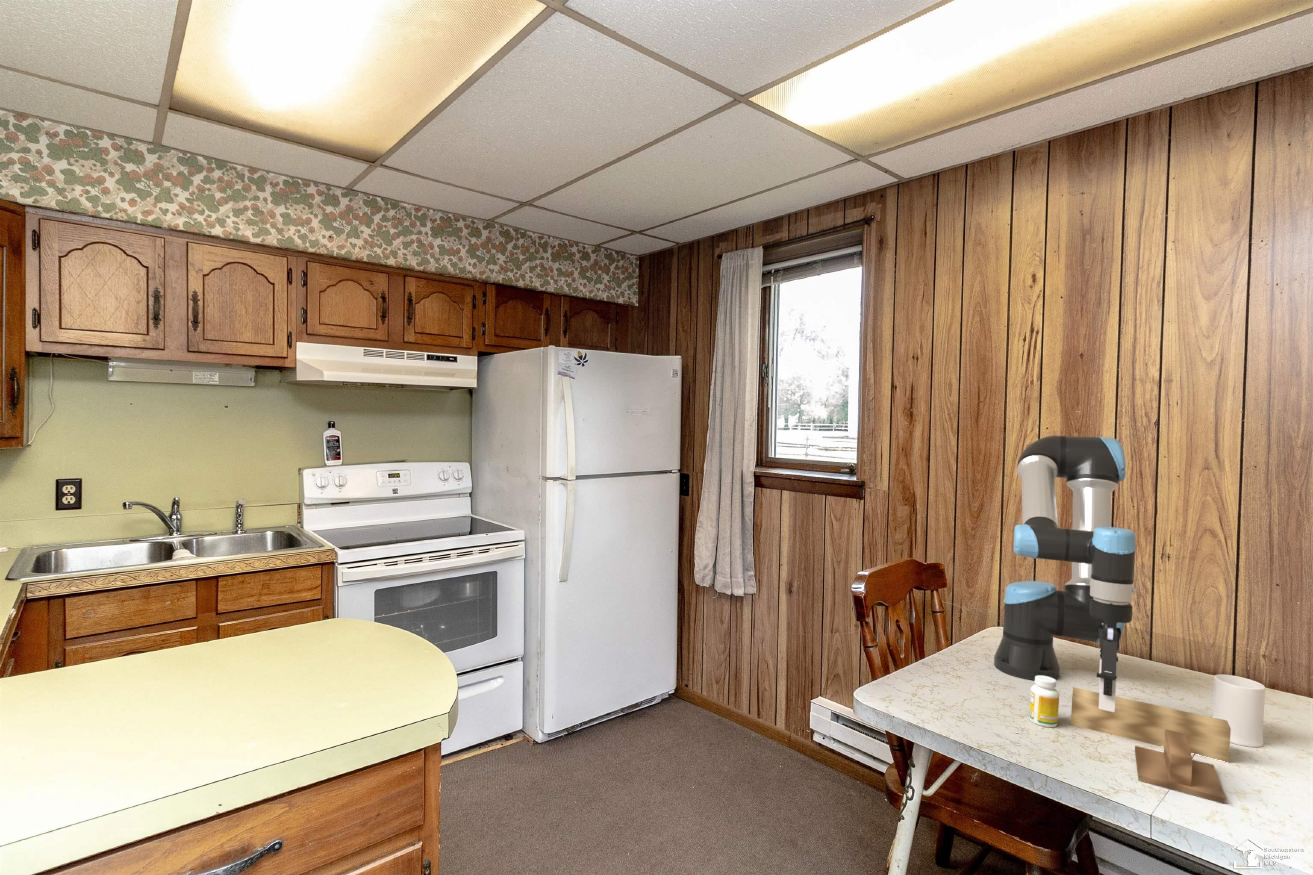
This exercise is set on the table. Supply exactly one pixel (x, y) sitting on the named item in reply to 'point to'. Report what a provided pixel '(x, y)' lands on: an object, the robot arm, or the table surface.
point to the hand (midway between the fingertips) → (1106, 699)
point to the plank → (1151, 723)
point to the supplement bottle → (1044, 702)
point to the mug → (1240, 708)
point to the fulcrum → (1178, 769)
